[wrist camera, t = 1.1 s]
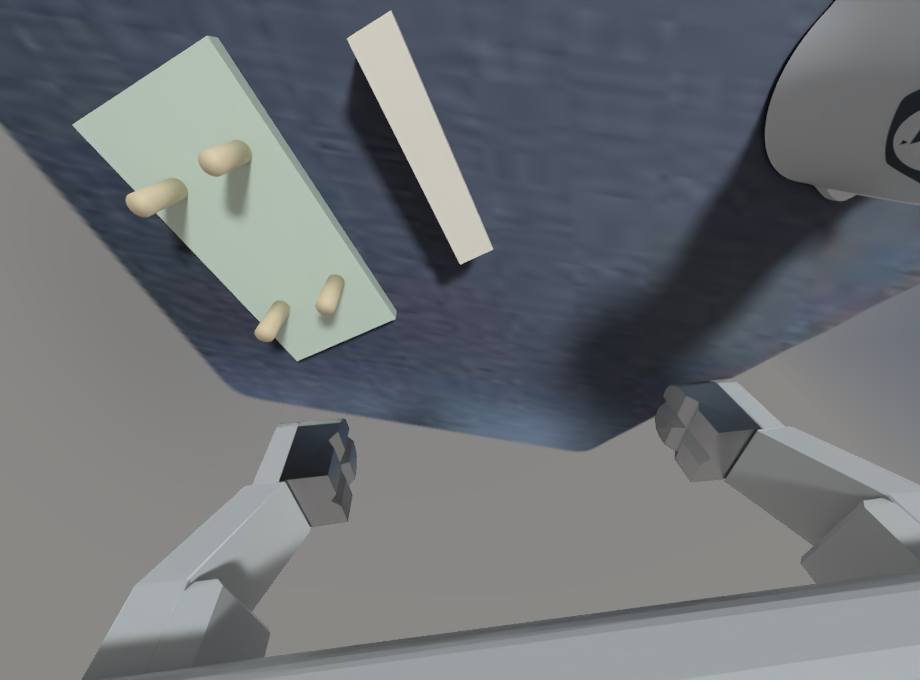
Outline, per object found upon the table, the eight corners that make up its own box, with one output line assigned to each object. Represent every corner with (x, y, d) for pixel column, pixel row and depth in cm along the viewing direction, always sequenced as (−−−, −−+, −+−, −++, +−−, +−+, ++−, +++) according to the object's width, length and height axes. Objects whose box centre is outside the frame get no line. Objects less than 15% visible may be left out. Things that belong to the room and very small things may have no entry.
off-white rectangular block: (359, 44, 25) (346, 38, 21) (396, 21, 25) (391, 10, 21) (455, 242, 34) (460, 264, 30) (485, 228, 34) (493, 249, 30)
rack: (88, 122, 27) (12, 133, 22) (217, 37, 24) (166, 28, 20) (301, 352, 40) (283, 390, 35) (396, 311, 38) (392, 345, 33)
